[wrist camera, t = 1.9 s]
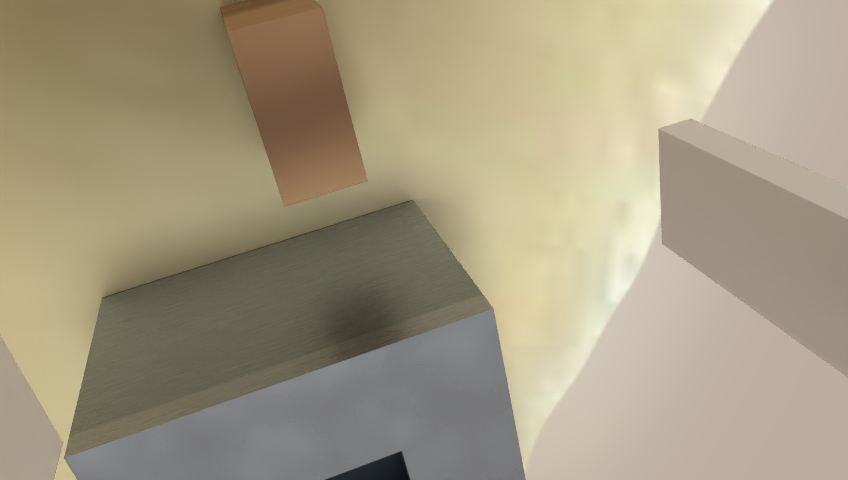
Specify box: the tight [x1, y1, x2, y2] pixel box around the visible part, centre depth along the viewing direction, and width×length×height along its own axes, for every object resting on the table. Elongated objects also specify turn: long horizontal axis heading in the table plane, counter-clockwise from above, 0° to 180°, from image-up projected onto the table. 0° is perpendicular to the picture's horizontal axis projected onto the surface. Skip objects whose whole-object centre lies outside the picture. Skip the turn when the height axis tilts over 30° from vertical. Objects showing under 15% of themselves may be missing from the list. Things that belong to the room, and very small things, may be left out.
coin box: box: [64, 200, 525, 480], centre depth 31 cm, size 18×14×10 cm
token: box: [221, 0, 367, 206], centre depth 26 cm, size 6×3×6 cm, turn 12°
